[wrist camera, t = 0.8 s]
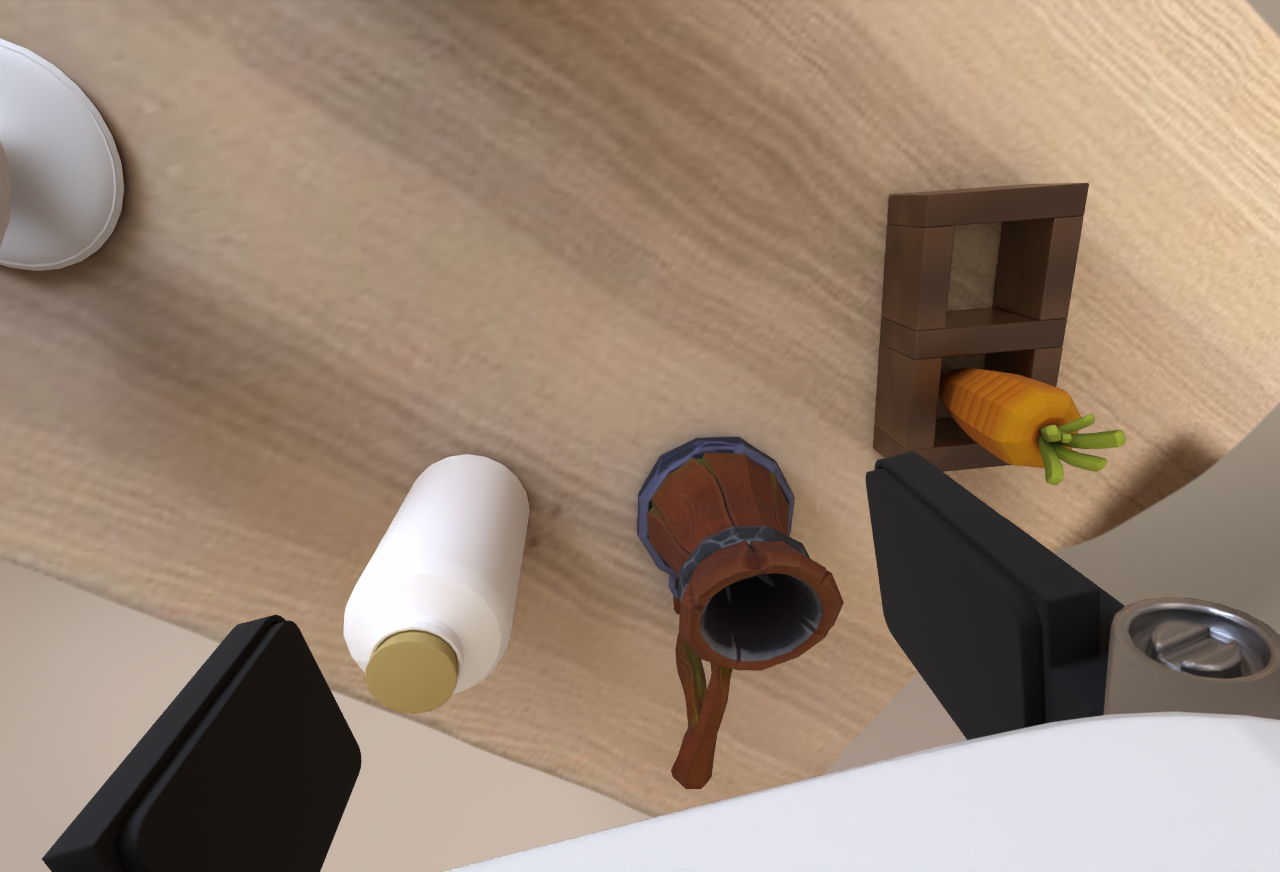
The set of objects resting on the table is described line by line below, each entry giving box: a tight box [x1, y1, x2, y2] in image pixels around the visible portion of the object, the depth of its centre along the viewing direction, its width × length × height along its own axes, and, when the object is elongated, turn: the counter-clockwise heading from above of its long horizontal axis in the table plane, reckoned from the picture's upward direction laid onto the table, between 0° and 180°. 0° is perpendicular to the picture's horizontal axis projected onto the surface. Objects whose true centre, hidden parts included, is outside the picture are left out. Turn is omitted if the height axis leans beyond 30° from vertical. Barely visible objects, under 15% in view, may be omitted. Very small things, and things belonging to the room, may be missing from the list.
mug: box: [637, 437, 844, 789], centre depth 42 cm, size 18×12×15 cm, turn 163°
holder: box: [873, 183, 1089, 472], centre depth 43 cm, size 17×10×5 cm, turn 4°
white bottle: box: [344, 454, 530, 714], centre depth 38 cm, size 8×8×18 cm
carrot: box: [939, 368, 1125, 485], centre depth 40 cm, size 5×5×15 cm
